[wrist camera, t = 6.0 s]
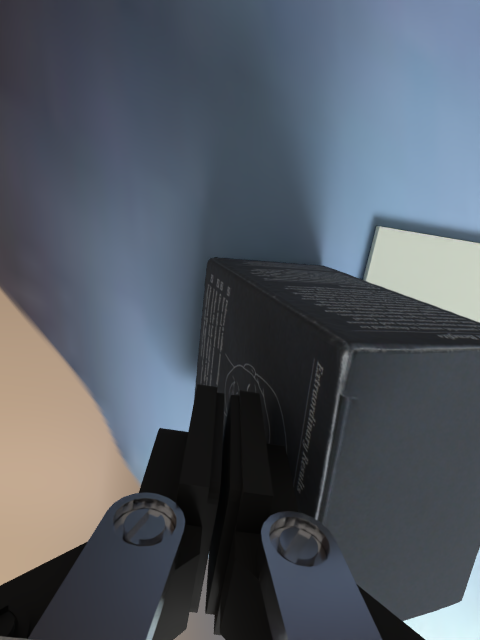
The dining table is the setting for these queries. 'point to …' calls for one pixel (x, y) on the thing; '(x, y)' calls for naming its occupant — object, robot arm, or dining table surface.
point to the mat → (427, 269)
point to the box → (360, 416)
